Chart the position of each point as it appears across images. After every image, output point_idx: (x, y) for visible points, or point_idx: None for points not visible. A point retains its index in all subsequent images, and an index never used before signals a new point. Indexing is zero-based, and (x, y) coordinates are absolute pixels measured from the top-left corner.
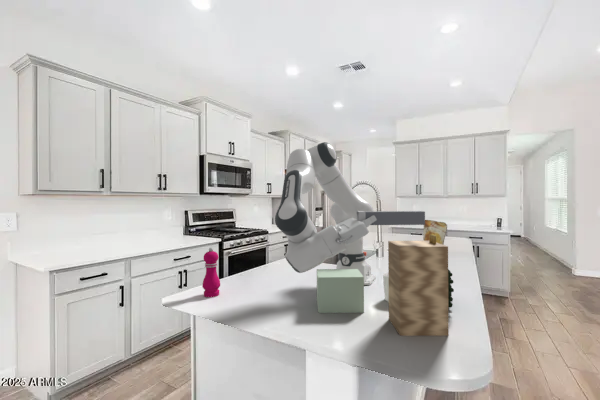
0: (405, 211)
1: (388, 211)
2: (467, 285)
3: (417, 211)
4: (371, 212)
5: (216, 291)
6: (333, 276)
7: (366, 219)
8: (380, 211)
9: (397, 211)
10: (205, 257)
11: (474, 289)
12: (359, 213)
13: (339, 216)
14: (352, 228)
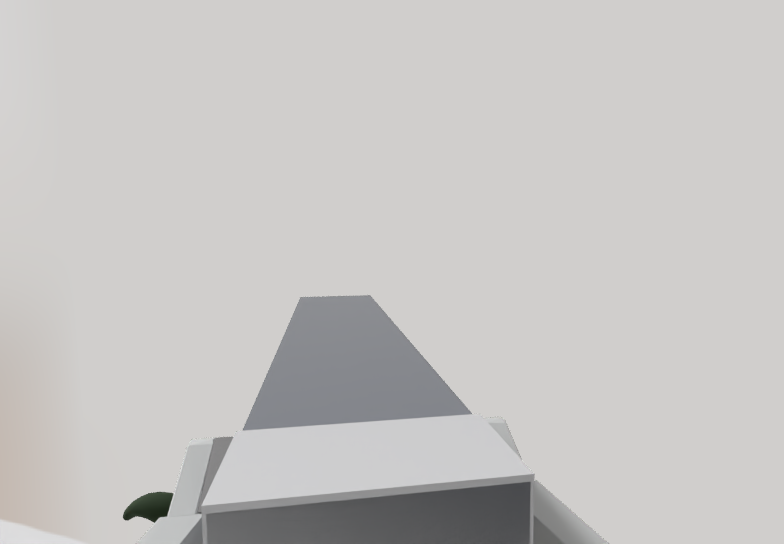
0: (347, 310)
1: (334, 333)
2: (2, 539)
3: (354, 300)
4: (449, 391)
5: None
6: None
7: (587, 525)
8: (322, 351)
9: (341, 319)
10: None
11: (51, 534)
12: (530, 504)
13: None
14: None
